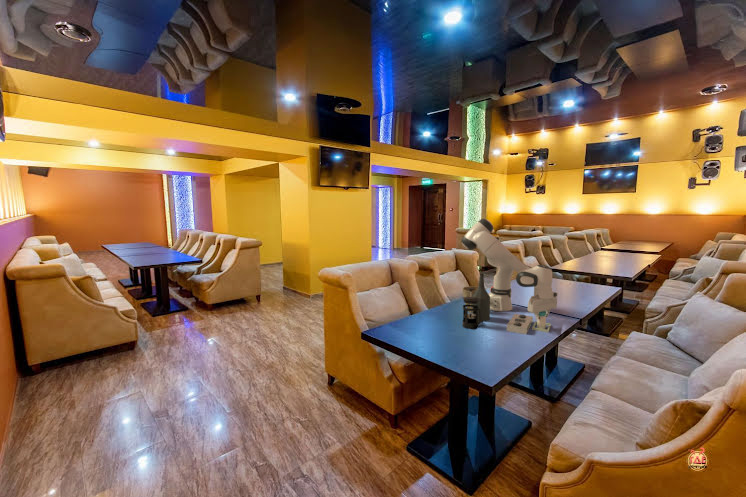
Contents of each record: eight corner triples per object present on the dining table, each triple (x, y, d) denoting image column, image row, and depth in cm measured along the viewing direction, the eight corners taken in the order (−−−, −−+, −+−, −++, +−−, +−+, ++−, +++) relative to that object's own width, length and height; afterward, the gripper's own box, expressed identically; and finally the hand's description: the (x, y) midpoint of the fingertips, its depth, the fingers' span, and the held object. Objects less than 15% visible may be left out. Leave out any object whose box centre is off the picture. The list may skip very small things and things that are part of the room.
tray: (532, 332, 179) (532, 327, 179) (535, 325, 189) (535, 321, 189) (548, 335, 175) (548, 330, 174) (550, 328, 184) (550, 323, 184)
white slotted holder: (526, 337, 172) (526, 328, 172) (506, 333, 178) (506, 324, 178) (532, 324, 191) (532, 316, 190) (514, 321, 196) (514, 313, 196)
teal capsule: (542, 331, 178) (542, 313, 177) (534, 328, 183) (534, 311, 181) (548, 329, 181) (548, 312, 179) (540, 326, 185) (540, 310, 184)
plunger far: (519, 321, 190) (519, 315, 189) (520, 319, 192) (520, 314, 192) (524, 322, 188) (525, 316, 188) (525, 320, 191) (525, 315, 190)
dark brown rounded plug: (514, 329, 178) (514, 323, 177) (515, 327, 180) (515, 321, 180) (520, 330, 176) (520, 324, 175) (521, 328, 178) (521, 322, 178)
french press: (458, 325, 192) (458, 288, 189) (467, 322, 198) (467, 285, 195) (475, 331, 183) (476, 291, 180) (484, 327, 189) (485, 288, 186)
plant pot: (457, 310, 222) (458, 287, 220) (476, 307, 226) (476, 285, 224) (470, 316, 208) (470, 292, 206) (490, 313, 212) (490, 290, 210)
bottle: (487, 318, 204) (488, 271, 200) (491, 323, 194) (492, 274, 191) (470, 317, 205) (471, 271, 202) (474, 323, 195) (474, 274, 192)
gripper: (535, 297, 172) (534, 322, 174) (559, 292, 181) (558, 316, 183) (525, 295, 178) (524, 319, 179) (549, 290, 187) (548, 313, 188)
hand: (541, 318), depth 181 cm, fingers open, 5 cm apart
